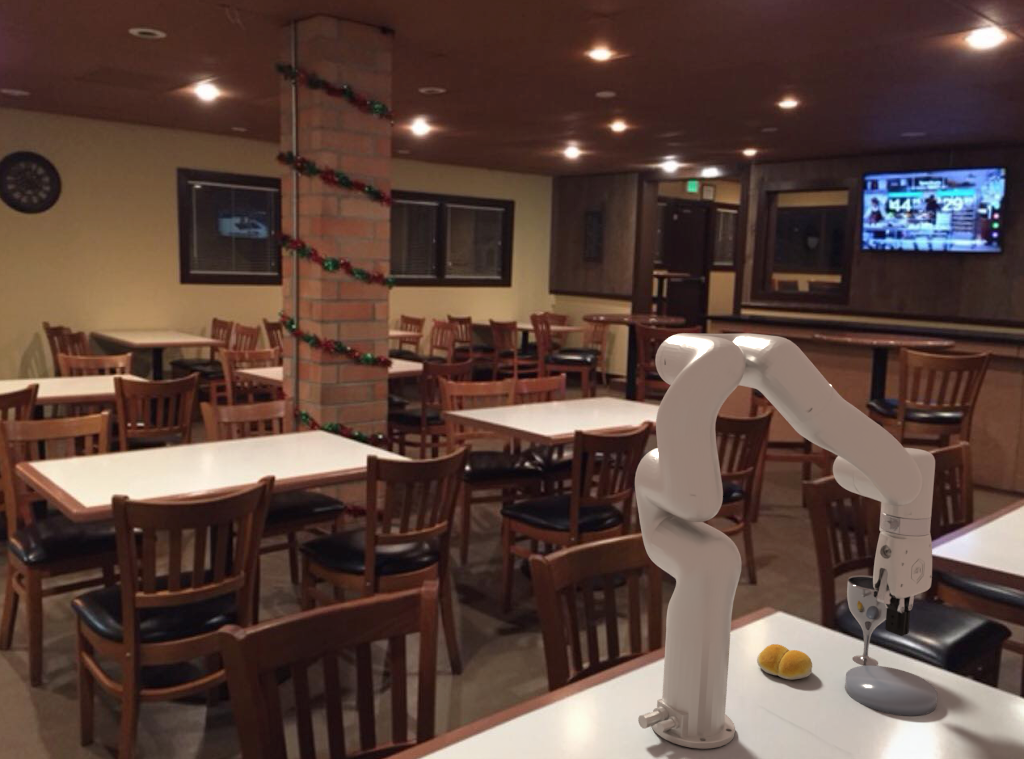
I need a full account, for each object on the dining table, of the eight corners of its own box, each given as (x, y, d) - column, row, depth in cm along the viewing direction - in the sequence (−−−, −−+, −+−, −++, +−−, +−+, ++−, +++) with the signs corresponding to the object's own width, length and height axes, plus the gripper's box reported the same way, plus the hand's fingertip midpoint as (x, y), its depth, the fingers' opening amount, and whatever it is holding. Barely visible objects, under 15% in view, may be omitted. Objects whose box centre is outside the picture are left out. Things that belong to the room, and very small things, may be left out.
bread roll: (801, 685, 147) (801, 662, 146) (751, 671, 152) (752, 649, 152) (820, 668, 153) (820, 646, 152) (771, 655, 159) (772, 634, 158)
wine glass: (840, 650, 163) (846, 572, 161) (886, 657, 161) (893, 578, 159) (842, 667, 155) (849, 586, 154) (891, 675, 153) (898, 592, 151)
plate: (904, 724, 136) (905, 711, 135) (827, 688, 147) (828, 676, 147) (953, 702, 143) (954, 691, 143) (876, 670, 155) (877, 659, 155)
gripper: (899, 536, 135) (891, 650, 137) (952, 523, 143) (943, 630, 145) (856, 525, 141) (849, 633, 143) (909, 513, 149) (901, 616, 151)
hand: (896, 632), depth 144 cm, fingers closed
